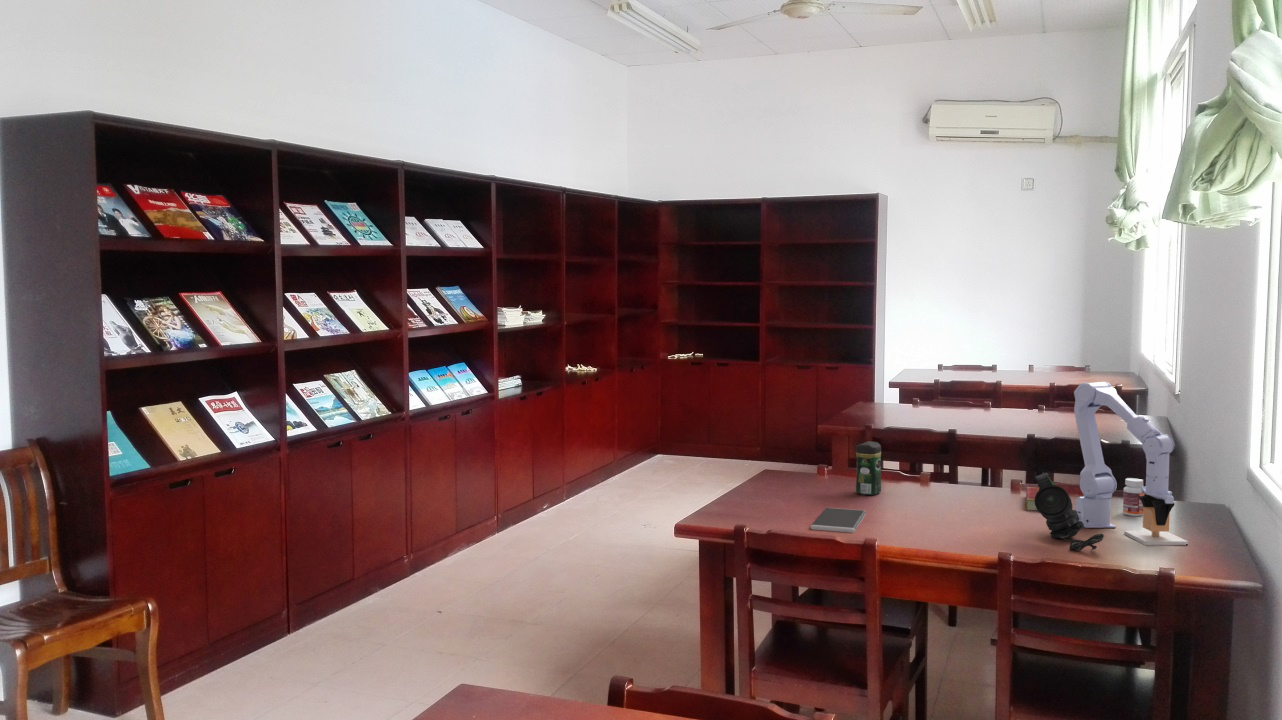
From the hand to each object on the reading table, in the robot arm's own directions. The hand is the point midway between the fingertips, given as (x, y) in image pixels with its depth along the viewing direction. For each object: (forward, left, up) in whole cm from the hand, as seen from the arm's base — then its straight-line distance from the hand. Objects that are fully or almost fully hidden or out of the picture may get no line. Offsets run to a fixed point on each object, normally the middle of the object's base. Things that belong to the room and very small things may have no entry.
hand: (1155, 522), depth 274 cm
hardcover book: (-13, +46, -6) cm, 48 cm away
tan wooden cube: (0, 0, -2) cm, 2 cm away
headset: (-26, 0, -5) cm, 26 cm away
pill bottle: (+9, +31, -5) cm, 33 cm away
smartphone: (-87, +23, -6) cm, 90 cm away
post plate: (0, 0, -5) cm, 5 cm away
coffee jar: (-69, +64, -5) cm, 94 cm away
